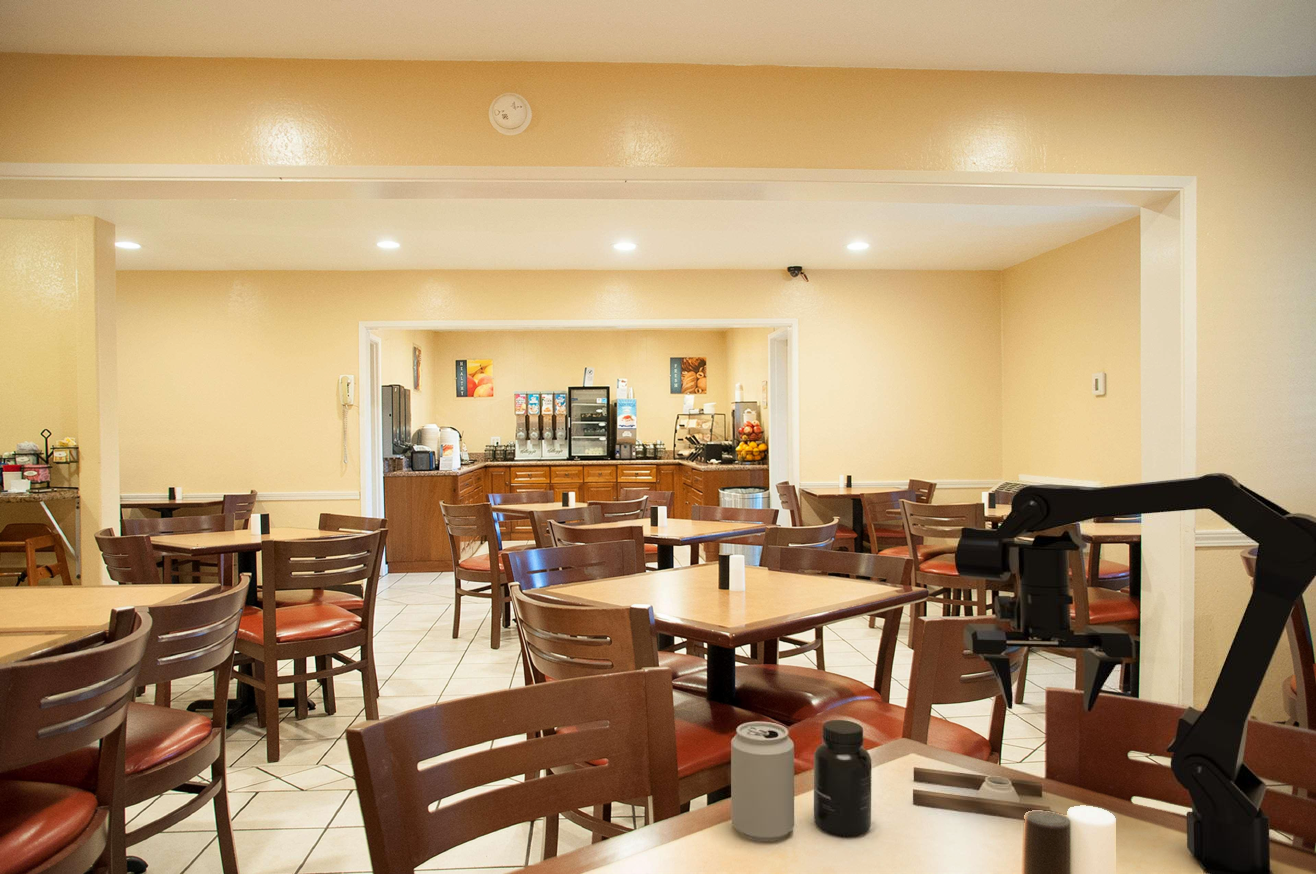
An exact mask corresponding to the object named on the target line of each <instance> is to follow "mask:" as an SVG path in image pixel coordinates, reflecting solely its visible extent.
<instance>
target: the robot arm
mask: <svg viewBox="0 0 1316 874" xmlns="http://www.w3.org/2000/svg"><path fill="white" fill-rule="evenodd" d="M1193 510H1211V511H1212V512H1213V513H1215V514H1216V515H1217V516H1219V517H1220V518H1221V519H1223V520H1224V521H1226V522H1227V523H1228V524H1229V525H1231V526H1232V527H1234V528H1235V529H1236V530H1238V531H1239V532H1240V533H1241V534H1243V535H1245V536H1246V537H1247V538H1249V539H1250V540H1252V541H1254V542H1255V543H1257V544H1258V546H1257V550H1256V551H1257V552H1256V558H1255V564H1254V573H1253V584H1252V585H1253V586H1252V591H1251V595H1250V597H1249V600H1248V603H1247V605H1246V608H1245V610H1244V613H1243V615H1242V617H1241V621H1240V623H1239V625H1238V628H1237V631H1236V633H1235V635H1234V637H1233V640H1232V642H1231V646H1230V647H1229V649H1228V653H1227V655H1226V657H1225V660H1224V662H1223V665H1222V667H1221V670H1220V673H1219V675H1218V677H1217V679H1216V682H1215V684H1214V687H1213V690H1212V692H1211V695H1210V696H1209V700H1208V703H1207V704H1206V706H1205V708H1204V709H1203V711H1202V712H1200V711H1199V710H1197V709H1195V708H1194V707H1192V706H1188V707H1187V709H1186V710H1185V711H1184V712H1183V714H1182V715H1181V716H1180V718H1179V719H1178V721H1177V722H1178V724H1177V728H1176V735H1175V737H1174V739H1173V740H1172V741H1171V743H1170V744H1169V745H1168V747H1167V748H1166V749H1165V751H1166V752H1167V753H1173V754H1172V755H1171V757H1170V763H1169V764H1170V770H1171V772H1172V773H1173V775H1174V777H1175V779H1176V781H1177V782H1178V783H1179V784H1180V785H1181V786H1182V787H1183V788H1184V789H1185V790H1187V791H1188V792H1189V797H1190V798H1191V811H1187V812H1186V842H1187V843H1186V847H1187V849H1188V851H1189V852H1190V854H1191V855H1192V857H1193V858H1194V859H1195V860H1196V861H1197V863H1198V864H1199V865H1200V867H1201V868H1202V870H1203V872H1204V873H1207V874H1274V872H1273V871H1272V870H1271V849H1270V817H1269V816H1268V814H1267V813H1265V812H1264V810H1263V809H1261V804H1262V802H1263V798H1264V795H1265V794H1266V790H1267V784H1266V782H1264V781H1263V780H1262V779H1261V778H1260V776H1258V775H1257V774H1256V773H1255V771H1253V770H1252V769H1251V768H1250V767H1249V766H1248V765H1247V764H1246V763H1245V762H1244V754H1245V749H1246V742H1247V734H1248V733H1247V732H1248V723H1249V718H1250V714H1251V711H1252V708H1253V706H1254V704H1255V701H1256V699H1257V697H1258V694H1259V692H1260V690H1261V687H1262V685H1263V683H1264V679H1265V677H1266V675H1267V672H1268V670H1269V667H1270V665H1271V663H1272V661H1273V658H1274V656H1275V654H1276V652H1277V648H1278V646H1279V643H1280V641H1281V639H1282V636H1283V635H1284V632H1285V629H1286V627H1287V625H1288V622H1289V620H1290V617H1291V615H1292V613H1293V610H1294V607H1295V606H1296V604H1297V603H1298V601H1299V600H1300V599H1301V598H1302V596H1303V594H1304V593H1305V591H1306V590H1307V588H1308V587H1310V585H1311V583H1312V582H1313V580H1314V579H1315V577H1316V516H1313V515H1311V514H1308V513H1307V514H1306V513H1300V512H1296V513H1295V512H1294V513H1292V512H1290V511H1288V510H1287V509H1285V508H1283V507H1282V506H1280V505H1278V504H1277V503H1275V502H1273V501H1272V500H1270V499H1268V498H1266V497H1264V496H1263V495H1261V494H1259V493H1257V492H1256V491H1254V490H1252V489H1250V488H1248V487H1247V486H1245V485H1243V484H1242V483H1241V482H1239V481H1238V479H1236V478H1235V477H1233V476H1232V475H1230V474H1226V473H1224V472H1216V473H1215V472H1214V473H1213V472H1212V473H1208V474H1203V475H1202V476H1196V477H1187V478H1179V479H1178V478H1176V479H1168V480H1158V481H1150V482H1149V481H1147V482H1140V483H1139V482H1138V483H1129V484H1119V485H1112V486H1110V485H1109V486H1101V487H1100V486H1099V487H1098V486H1082V485H1072V484H1071V485H1070V484H1069V485H1068V484H1067V485H1066V484H1053V483H1052V484H1051V483H1050V484H1037V485H1036V484H1034V485H1027V486H1024V487H1022V488H1020V489H1018V490H1017V492H1016V493H1015V495H1014V496H1013V498H1012V500H1011V503H1010V512H1009V513H1008V515H1007V516H1006V517H1005V518H1004V520H1003V521H1002V522H1001V523H1000V524H999V526H998V528H996V529H994V528H981V527H977V526H965V527H964V526H963V527H962V528H961V531H960V532H961V533H960V535H961V537H960V538H959V540H958V542H957V545H956V552H955V553H954V564H955V568H956V571H957V573H958V576H960V578H961V577H962V578H969V579H978V580H979V579H980V580H992V581H993V580H994V581H1002V582H1003V581H1004V582H1005V581H1007V580H1009V579H1010V577H1011V574H1012V575H1013V574H1016V573H1017V571H1018V582H1019V584H1018V585H1019V588H1017V596H1016V597H1017V598H1016V600H1013V599H1012V596H1010V595H996V596H995V597H994V614H995V615H994V616H995V620H996V621H997V622H1009V623H1010V629H1011V630H1013V631H1006V630H1004V629H1003V628H1001V627H1000V626H999V625H997V624H996V623H967V625H965V627H964V629H963V645H965V646H966V648H967V649H968V650H969V651H970V652H971V653H972V654H975V655H978V656H979V657H980V658H981V659H982V660H983V661H985V662H988V664H989V665H990V668H991V669H992V671H993V674H994V676H995V678H996V681H997V684H998V686H999V689H1000V692H1001V695H1002V697H1003V700H1004V703H1005V705H1006V707H1007V708H1008V710H1012V709H1013V704H1014V702H1013V701H1014V696H1013V685H1012V684H1013V683H1012V671H1011V661H1010V657H1009V656H1008V655H1007V654H1005V652H1006V650H1007V648H1008V647H1009V648H1010V647H1014V648H1018V647H1019V648H1058V649H1059V648H1060V649H1063V648H1064V649H1081V653H1082V659H1083V662H1084V676H1083V677H1084V678H1083V705H1084V710H1085V711H1086V712H1088V713H1089V712H1092V710H1093V707H1094V706H1095V704H1096V702H1097V699H1098V697H1099V695H1100V693H1101V692H1102V689H1103V686H1104V685H1105V684H1106V682H1107V680H1108V678H1109V677H1110V675H1111V674H1112V672H1113V671H1114V669H1115V668H1116V666H1118V665H1119V666H1120V665H1121V666H1122V665H1125V661H1124V659H1134V658H1136V656H1137V655H1136V643H1135V640H1134V637H1133V636H1132V635H1131V634H1130V633H1128V632H1126V631H1125V630H1123V629H1120V628H1118V627H1116V626H1115V625H1085V627H1084V629H1083V630H1082V631H1083V632H1075V630H1074V629H1073V628H1072V623H1071V622H1072V618H1071V617H1072V616H1071V614H1072V613H1071V605H1074V597H1073V595H1071V590H1070V589H1071V587H1070V564H1069V561H1070V560H1069V558H1070V557H1069V552H1070V551H1071V552H1074V551H1075V552H1077V551H1078V552H1079V551H1081V550H1084V549H1086V548H1087V547H1088V544H1087V543H1086V542H1085V541H1083V540H1082V539H1081V538H1080V537H1078V536H1077V535H1076V534H1075V532H1074V530H1072V529H1069V530H1064V532H1063V533H1061V535H1056V534H1055V535H1053V534H1050V535H1048V534H1037V535H1035V537H1034V538H1033V540H1032V541H1023V540H1022V541H1019V540H1015V538H1021V537H1024V536H1029V535H1033V534H1034V533H1036V532H1043V531H1047V530H1052V529H1057V528H1061V527H1065V526H1068V525H1073V524H1077V523H1081V522H1085V521H1089V520H1093V519H1097V518H1107V517H1118V516H1119V517H1120V516H1133V515H1145V514H1156V513H1170V512H1180V511H1181V512H1183V511H1193ZM1030 638H1031V639H1030ZM1032 638H1033V639H1032Z"/></svg>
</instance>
